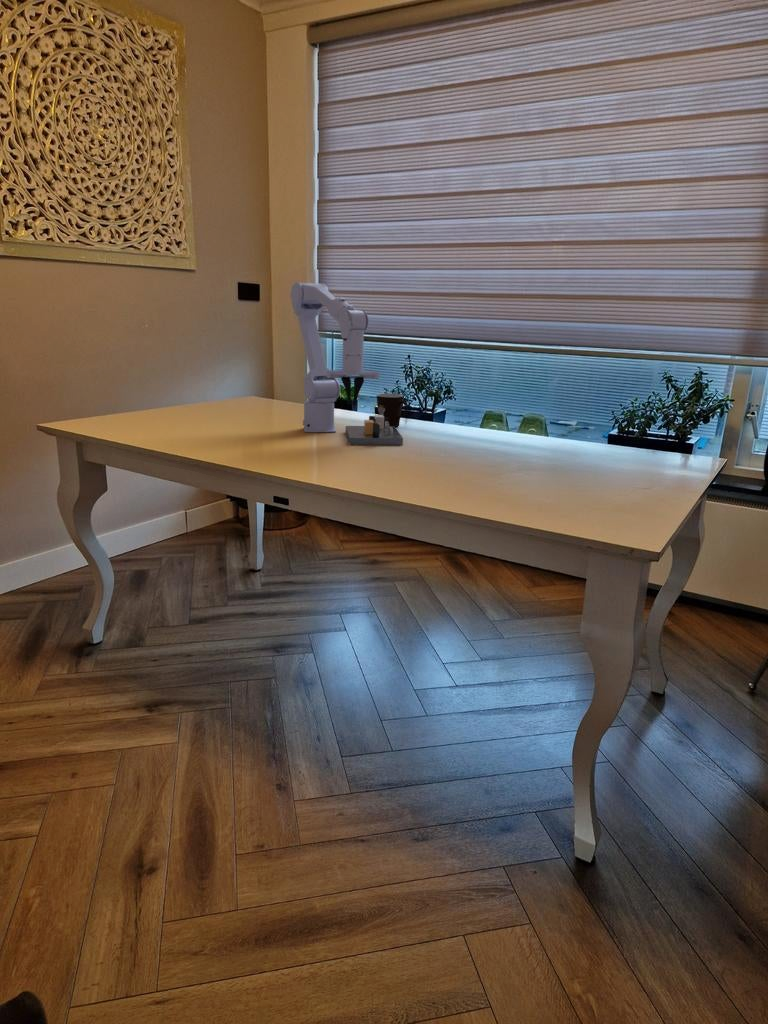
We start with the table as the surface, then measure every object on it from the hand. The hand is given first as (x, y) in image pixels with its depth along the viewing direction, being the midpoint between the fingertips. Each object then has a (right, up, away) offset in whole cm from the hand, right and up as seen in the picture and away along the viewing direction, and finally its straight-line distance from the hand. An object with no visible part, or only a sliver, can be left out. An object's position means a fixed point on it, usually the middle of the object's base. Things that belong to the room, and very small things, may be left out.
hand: (352, 404), depth 188 cm
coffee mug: (+11, -4, +24) cm, 27 cm away
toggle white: (+8, -5, +12) cm, 15 cm away
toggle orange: (+5, -8, +3) cm, 10 cm away
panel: (+6, -9, +6) cm, 13 cm away
